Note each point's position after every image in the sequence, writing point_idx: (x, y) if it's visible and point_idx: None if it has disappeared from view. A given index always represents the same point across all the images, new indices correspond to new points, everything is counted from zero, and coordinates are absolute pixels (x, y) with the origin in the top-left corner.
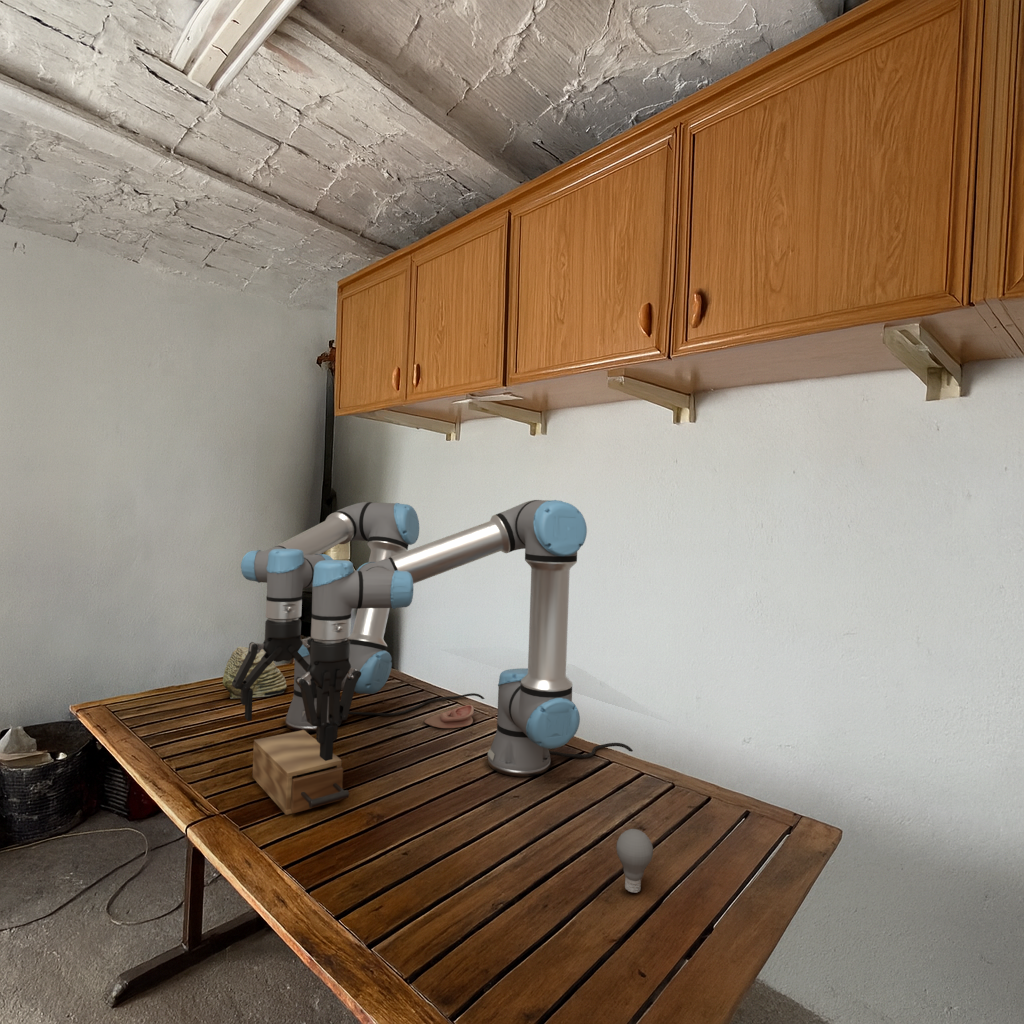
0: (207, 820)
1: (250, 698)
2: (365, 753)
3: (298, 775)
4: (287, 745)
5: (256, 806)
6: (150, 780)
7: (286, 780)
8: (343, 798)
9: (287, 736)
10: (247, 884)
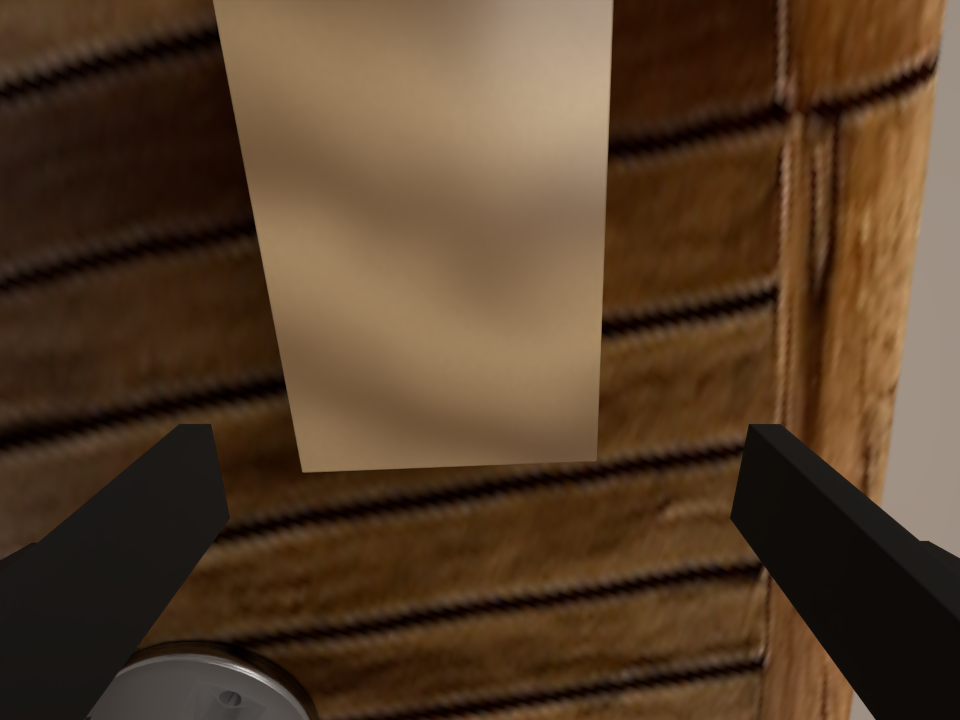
0: (857, 73)
1: (935, 569)
2: (65, 370)
3: None
4: (456, 287)
5: (644, 92)
6: None
7: None
8: None
9: (415, 421)
10: None
